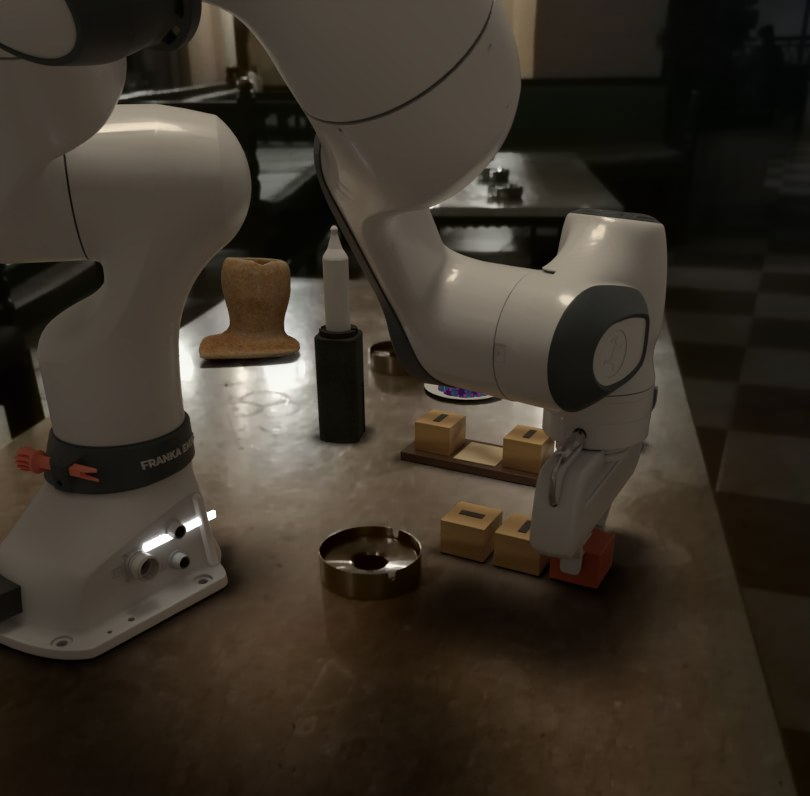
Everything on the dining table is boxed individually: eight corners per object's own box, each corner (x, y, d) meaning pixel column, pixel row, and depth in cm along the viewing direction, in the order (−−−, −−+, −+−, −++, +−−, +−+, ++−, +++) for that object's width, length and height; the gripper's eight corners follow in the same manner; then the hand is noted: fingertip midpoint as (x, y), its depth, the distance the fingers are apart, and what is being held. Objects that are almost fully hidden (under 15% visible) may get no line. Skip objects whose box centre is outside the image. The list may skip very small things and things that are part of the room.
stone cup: (299, 341, 148) (293, 247, 141) (300, 364, 138) (294, 263, 131) (206, 345, 147) (195, 250, 140) (199, 368, 136) (187, 266, 129)
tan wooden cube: (538, 576, 83) (541, 541, 81) (492, 565, 85) (494, 531, 83) (555, 554, 86) (557, 521, 84) (511, 544, 88) (512, 511, 86)
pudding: (492, 372, 134) (493, 337, 131) (522, 399, 123) (524, 362, 121) (414, 380, 131) (414, 344, 128) (438, 408, 121) (438, 370, 118)
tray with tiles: (545, 489, 99) (548, 450, 97) (400, 459, 106) (399, 422, 104) (566, 465, 104) (570, 428, 102) (426, 438, 112) (427, 403, 109)
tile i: (483, 562, 85) (484, 528, 83) (440, 551, 87) (440, 518, 85) (501, 542, 88) (503, 509, 87) (459, 532, 90) (460, 499, 89)
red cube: (596, 589, 80) (600, 554, 79) (548, 577, 82) (551, 543, 80) (611, 566, 84) (615, 532, 82) (564, 555, 86) (567, 521, 84)
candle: (357, 443, 110) (350, 230, 98) (317, 440, 111) (305, 229, 99) (367, 428, 115) (361, 222, 103) (328, 425, 116) (318, 221, 104)
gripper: (595, 464, 66) (579, 621, 73) (663, 381, 82) (645, 517, 89) (514, 448, 69) (506, 602, 75) (596, 371, 85) (583, 504, 91)
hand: (582, 555), depth 82 cm, fingers closed on red cube, 4 cm apart
